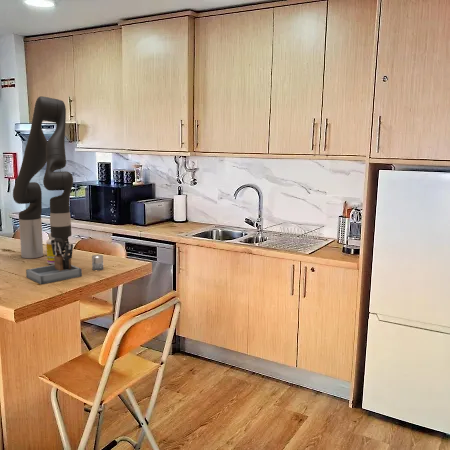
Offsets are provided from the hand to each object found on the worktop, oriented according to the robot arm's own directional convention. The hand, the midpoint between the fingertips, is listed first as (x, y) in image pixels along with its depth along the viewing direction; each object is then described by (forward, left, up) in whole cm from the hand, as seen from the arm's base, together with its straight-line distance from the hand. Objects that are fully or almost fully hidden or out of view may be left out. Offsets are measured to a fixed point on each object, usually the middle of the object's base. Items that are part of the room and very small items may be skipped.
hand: (62, 267), depth 184 cm
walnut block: (0, 0, -1) cm, 1 cm away
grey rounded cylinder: (+1, +14, -3) cm, 15 cm away
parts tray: (0, -4, -3) cm, 5 cm away
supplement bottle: (-20, +6, -3) cm, 21 cm away
